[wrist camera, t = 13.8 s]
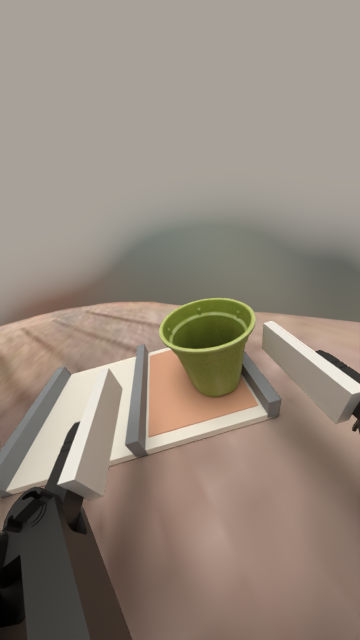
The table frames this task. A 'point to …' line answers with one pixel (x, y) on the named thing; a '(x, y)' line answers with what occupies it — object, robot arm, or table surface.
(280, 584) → the table surface
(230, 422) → the slot board
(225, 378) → the plant pot
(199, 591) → the table surface
